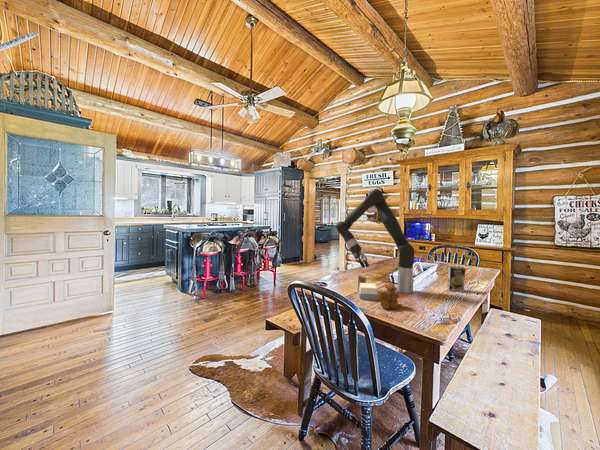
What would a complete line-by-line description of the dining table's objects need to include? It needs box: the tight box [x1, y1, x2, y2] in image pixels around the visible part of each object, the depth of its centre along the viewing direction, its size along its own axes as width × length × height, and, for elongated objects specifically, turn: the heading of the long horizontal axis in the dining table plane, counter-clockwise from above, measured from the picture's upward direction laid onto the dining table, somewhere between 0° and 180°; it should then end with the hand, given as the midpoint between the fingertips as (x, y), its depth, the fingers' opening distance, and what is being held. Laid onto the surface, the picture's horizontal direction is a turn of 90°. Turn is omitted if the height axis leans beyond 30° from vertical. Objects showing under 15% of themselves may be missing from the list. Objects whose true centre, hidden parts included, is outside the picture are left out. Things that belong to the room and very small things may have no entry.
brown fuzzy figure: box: [377, 283, 403, 310], centre depth 149 cm, size 10×14×13 cm
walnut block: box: [357, 274, 367, 291], centre depth 177 cm, size 5×5×10 cm
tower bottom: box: [358, 288, 379, 301], centre depth 165 cm, size 11×11×4 cm
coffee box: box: [446, 266, 466, 293], centre depth 179 cm, size 9×6×16 cm
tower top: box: [360, 282, 378, 295], centre depth 165 cm, size 10×10×4 cm
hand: (366, 266), depth 172 cm, fingers open, 8 cm apart
